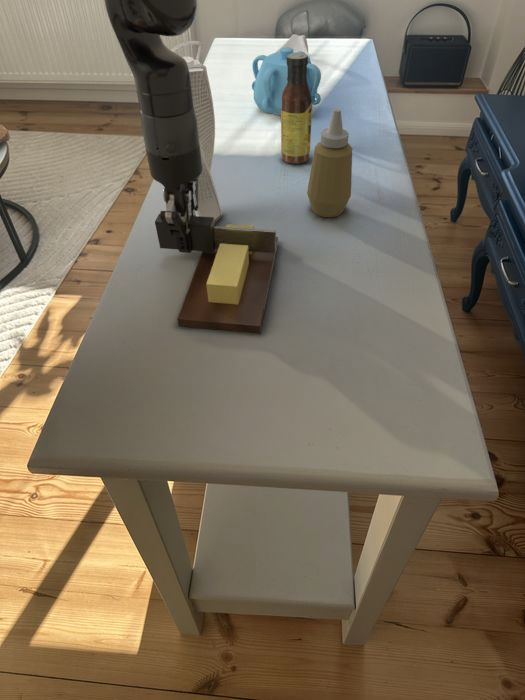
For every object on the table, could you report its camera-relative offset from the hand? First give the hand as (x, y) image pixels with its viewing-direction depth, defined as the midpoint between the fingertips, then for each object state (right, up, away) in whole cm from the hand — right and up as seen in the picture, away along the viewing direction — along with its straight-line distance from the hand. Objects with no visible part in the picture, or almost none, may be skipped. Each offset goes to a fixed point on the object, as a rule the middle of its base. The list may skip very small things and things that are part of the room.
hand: (187, 245), depth 79 cm
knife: (+5, -1, 0) cm, 5 cm away
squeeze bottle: (+25, +9, +12) cm, 29 cm away
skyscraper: (+1, +7, +10) cm, 12 cm away
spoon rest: (+21, +67, +65) cm, 96 cm away
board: (+8, -6, -3) cm, 10 cm away
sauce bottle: (+19, +24, +26) cm, 40 cm away
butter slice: (+8, 0, +1) cm, 9 cm away
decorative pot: (+18, +45, +44) cm, 65 cm away
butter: (+7, -7, -5) cm, 11 cm away
